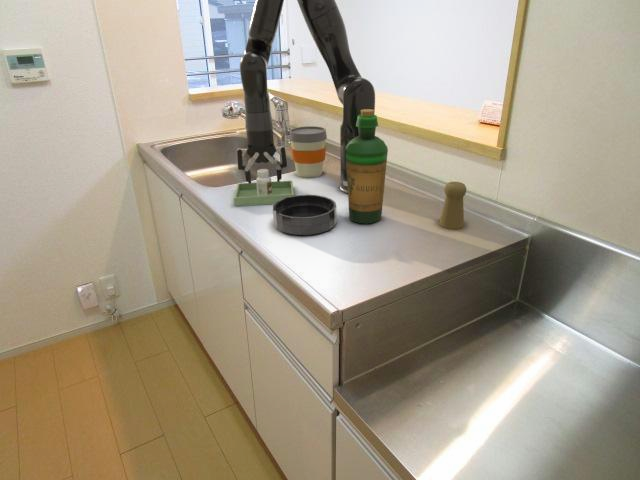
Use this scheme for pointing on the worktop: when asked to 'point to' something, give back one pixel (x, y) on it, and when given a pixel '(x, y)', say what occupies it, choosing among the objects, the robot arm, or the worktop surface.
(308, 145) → the reusable coffee cup
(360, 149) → the bottle
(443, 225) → the cork
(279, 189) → the tray
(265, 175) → the pill bottle
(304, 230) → the pan
